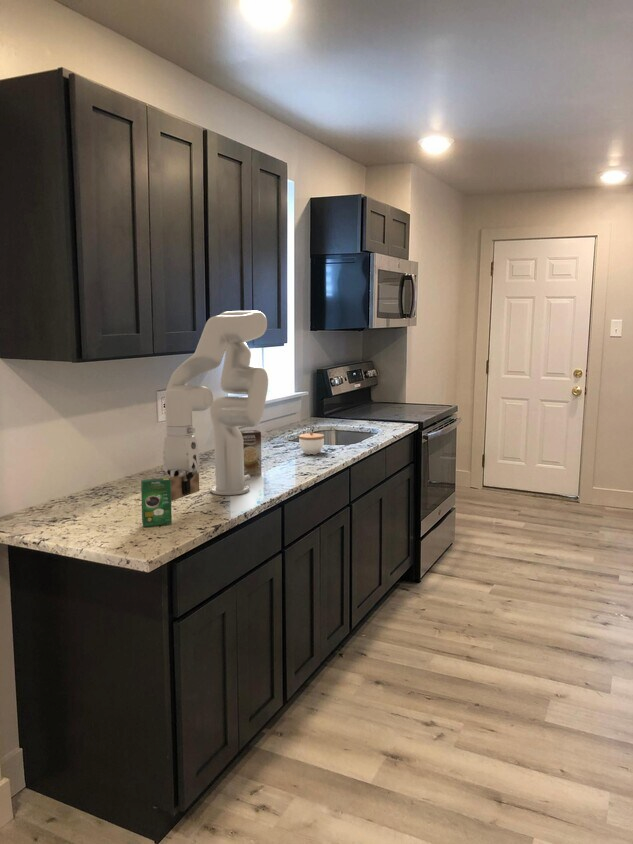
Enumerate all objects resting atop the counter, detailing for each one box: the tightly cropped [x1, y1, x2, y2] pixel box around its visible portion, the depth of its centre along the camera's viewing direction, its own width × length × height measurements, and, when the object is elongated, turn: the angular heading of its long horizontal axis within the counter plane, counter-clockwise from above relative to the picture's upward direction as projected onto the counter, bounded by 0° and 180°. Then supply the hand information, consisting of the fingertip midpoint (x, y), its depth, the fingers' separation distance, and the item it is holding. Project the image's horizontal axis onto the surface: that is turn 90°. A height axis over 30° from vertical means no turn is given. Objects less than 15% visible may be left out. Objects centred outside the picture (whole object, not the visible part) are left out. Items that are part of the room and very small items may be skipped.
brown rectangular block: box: [168, 473, 200, 502], centre depth 198 cm, size 14×2×6 cm, turn 154°
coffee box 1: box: [140, 477, 173, 528], centre depth 188 cm, size 8×3×13 cm, turn 111°
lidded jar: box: [298, 431, 325, 455], centre depth 288 cm, size 11×11×9 cm
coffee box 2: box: [240, 429, 263, 477], centre depth 249 cm, size 9×6×16 cm
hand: (181, 492), depth 199 cm, fingers closed on brown rectangular block, 2 cm apart
